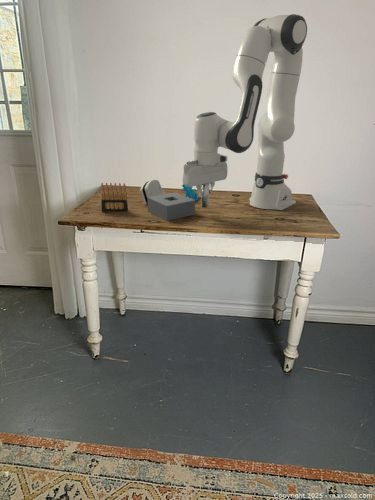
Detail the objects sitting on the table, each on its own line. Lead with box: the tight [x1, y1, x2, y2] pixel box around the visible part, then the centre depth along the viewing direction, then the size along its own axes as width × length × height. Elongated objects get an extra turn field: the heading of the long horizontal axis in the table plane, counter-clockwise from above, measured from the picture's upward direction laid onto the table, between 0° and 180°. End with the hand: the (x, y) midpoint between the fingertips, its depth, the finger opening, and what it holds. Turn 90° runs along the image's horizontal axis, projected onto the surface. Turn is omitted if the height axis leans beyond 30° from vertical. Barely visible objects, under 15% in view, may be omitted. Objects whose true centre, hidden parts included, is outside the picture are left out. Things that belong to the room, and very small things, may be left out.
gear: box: [181, 183, 199, 202], centre depth 161 cm, size 11×6×10 cm
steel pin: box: [200, 183, 210, 209], centre depth 137 cm, size 3×3×10 cm
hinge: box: [139, 179, 167, 206], centre depth 158 cm, size 17×5×10 cm, turn 164°
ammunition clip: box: [100, 182, 129, 213], centre depth 141 cm, size 11×2×12 cm, turn 94°
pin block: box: [147, 191, 196, 222], centre depth 142 cm, size 14×14×6 cm
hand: (205, 194), depth 136 cm, fingers closed on steel pin, 3 cm apart
